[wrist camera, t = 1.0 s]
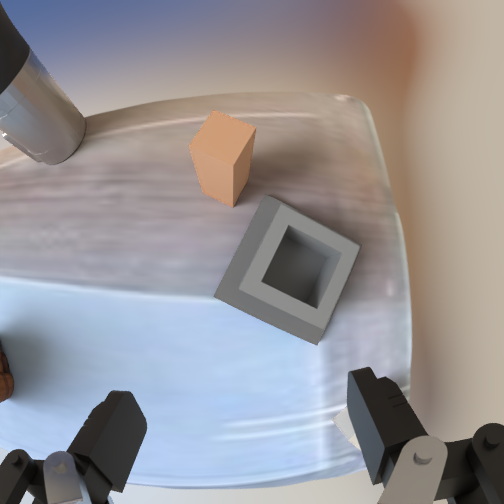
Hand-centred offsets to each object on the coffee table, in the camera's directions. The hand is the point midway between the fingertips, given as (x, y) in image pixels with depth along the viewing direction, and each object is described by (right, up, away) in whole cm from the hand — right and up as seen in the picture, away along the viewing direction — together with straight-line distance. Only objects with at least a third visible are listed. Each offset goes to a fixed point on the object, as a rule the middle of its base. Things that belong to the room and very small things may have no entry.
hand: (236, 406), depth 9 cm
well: (+5, +3, +23) cm, 24 cm away
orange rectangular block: (-3, +13, +24) cm, 28 cm away
